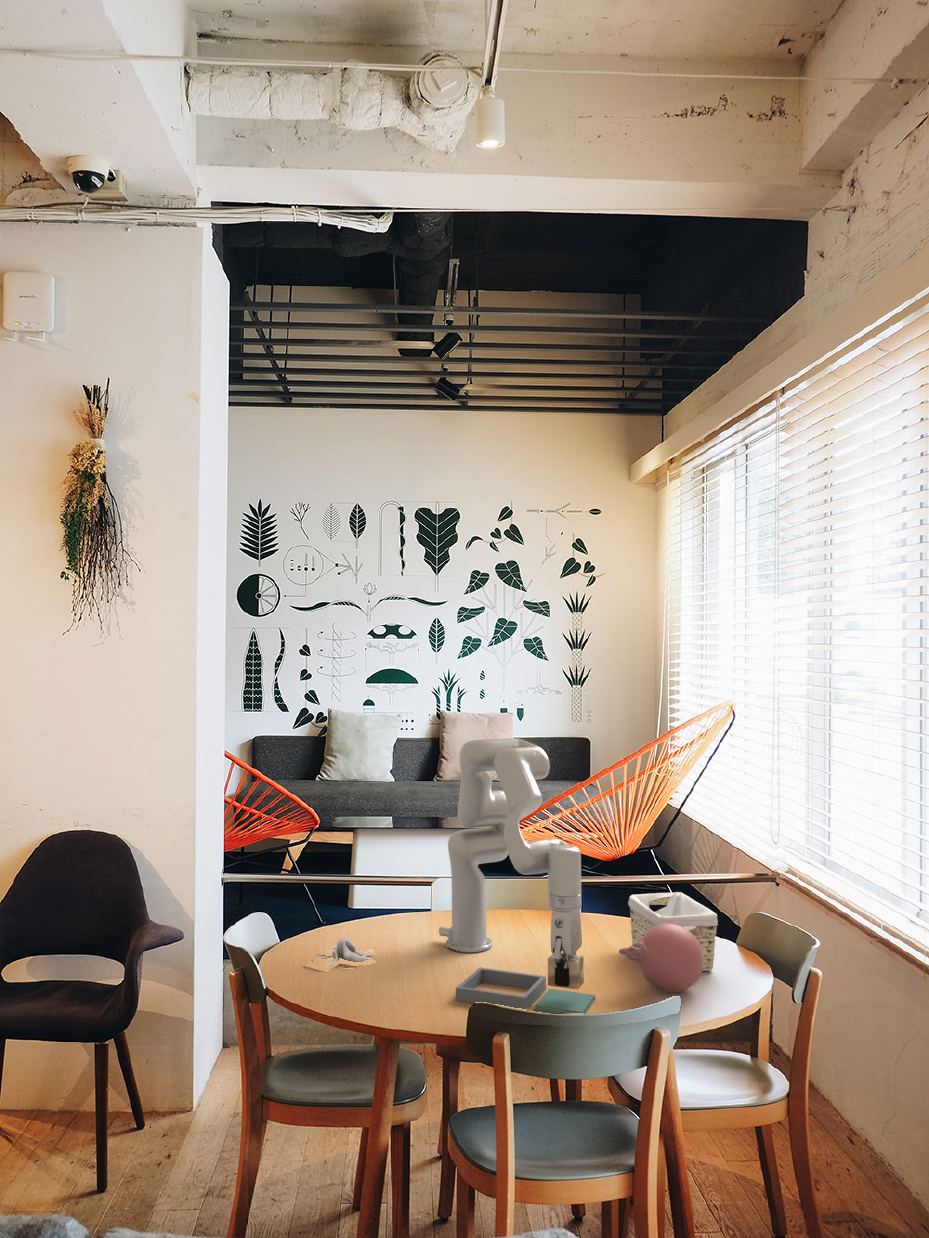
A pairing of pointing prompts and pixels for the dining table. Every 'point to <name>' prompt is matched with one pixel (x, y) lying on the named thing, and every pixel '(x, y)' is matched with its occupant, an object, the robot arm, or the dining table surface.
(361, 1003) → the dining table surface
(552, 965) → the label box
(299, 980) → the dining table surface
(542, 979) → the bin
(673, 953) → the pink balloon
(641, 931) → the storage basket
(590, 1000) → the mat
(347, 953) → the cloth
